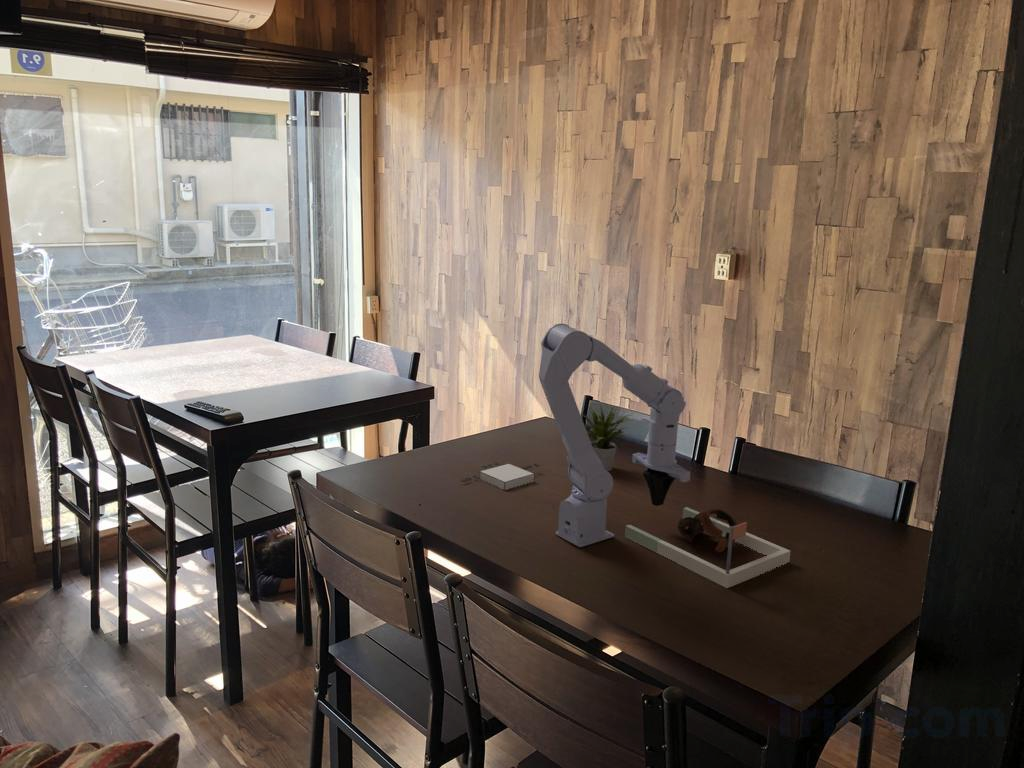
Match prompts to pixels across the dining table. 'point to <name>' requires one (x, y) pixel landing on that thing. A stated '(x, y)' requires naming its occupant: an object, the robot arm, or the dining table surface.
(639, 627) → the dining table surface
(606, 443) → the house plant
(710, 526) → the brown piece
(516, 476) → the container
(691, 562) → the open rectangular rail frame
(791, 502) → the dining table surface
